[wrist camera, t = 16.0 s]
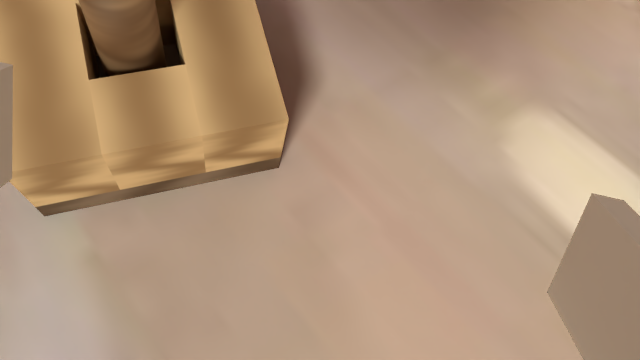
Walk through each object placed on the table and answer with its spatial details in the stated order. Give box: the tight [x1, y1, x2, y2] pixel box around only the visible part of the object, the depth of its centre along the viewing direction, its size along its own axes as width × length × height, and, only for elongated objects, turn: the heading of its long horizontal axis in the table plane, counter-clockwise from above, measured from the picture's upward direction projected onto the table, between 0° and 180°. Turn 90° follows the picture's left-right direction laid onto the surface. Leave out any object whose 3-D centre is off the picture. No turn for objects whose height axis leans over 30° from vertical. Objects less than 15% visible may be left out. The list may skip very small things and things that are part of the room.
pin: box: [78, 0, 167, 77], centre depth 36 cm, size 4×4×12 cm
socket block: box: [0, 0, 289, 216], centre depth 40 cm, size 16×15×8 cm
